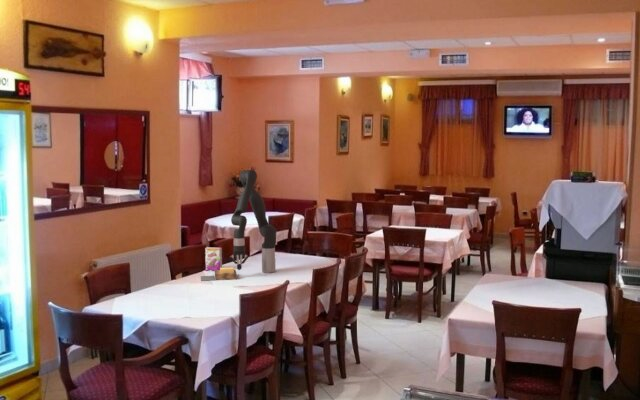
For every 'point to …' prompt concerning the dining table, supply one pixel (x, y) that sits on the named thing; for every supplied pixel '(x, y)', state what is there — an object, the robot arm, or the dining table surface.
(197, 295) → the dining table surface
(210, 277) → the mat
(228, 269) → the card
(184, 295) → the dining table surface
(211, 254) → the candy bar box
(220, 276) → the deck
